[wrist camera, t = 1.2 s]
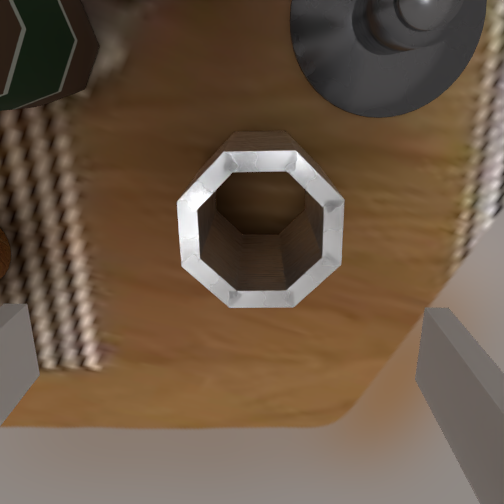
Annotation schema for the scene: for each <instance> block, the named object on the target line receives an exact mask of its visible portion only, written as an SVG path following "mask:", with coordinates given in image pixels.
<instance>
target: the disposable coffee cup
mask: <svg viewBox="0 0 504 504" xmlns="http://www.w3.org/2000/svg"><path fill="white" fill-rule="evenodd" d="M10 261H11V250H10V245H9V242H8V239H7V237H6V235H5V233H4V232H3V231H2V229H1V228H0V279H1V278H2V277H3V276H4V275H5V273H6V272H7V270H8V268H9V265H10Z"/></svg>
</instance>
